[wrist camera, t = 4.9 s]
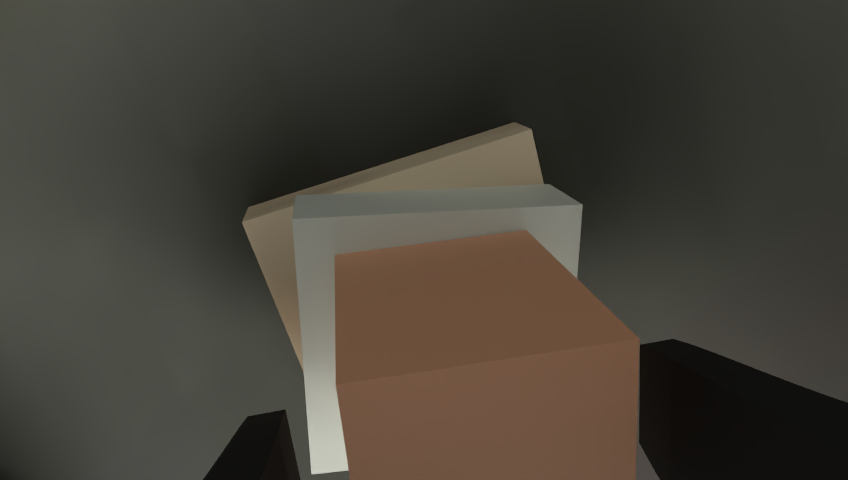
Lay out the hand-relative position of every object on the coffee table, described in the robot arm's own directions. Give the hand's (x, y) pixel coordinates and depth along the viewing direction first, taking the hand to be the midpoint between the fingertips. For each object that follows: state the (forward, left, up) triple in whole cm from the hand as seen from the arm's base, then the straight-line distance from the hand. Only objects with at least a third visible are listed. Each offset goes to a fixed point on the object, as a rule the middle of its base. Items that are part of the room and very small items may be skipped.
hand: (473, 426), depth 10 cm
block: (0, 0, -3) cm, 3 cm away
